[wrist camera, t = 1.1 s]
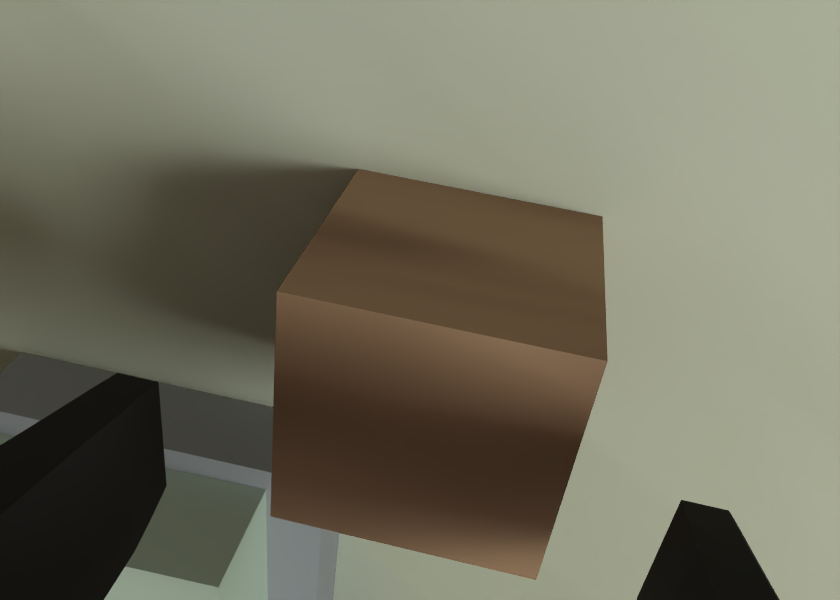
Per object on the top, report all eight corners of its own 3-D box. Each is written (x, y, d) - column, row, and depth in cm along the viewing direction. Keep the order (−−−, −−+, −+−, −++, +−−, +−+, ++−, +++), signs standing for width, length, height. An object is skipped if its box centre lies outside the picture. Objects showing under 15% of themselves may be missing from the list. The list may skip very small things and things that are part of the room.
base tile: (334, 618, 22) (308, 700, 20) (76, 555, 23) (25, 628, 21) (354, 408, 18) (324, 484, 16) (36, 339, 19) (-34, 403, 17)
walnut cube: (548, 404, 16) (535, 579, 12) (342, 360, 17) (270, 516, 13) (602, 214, 14) (607, 361, 10) (359, 167, 14) (276, 291, 10)
